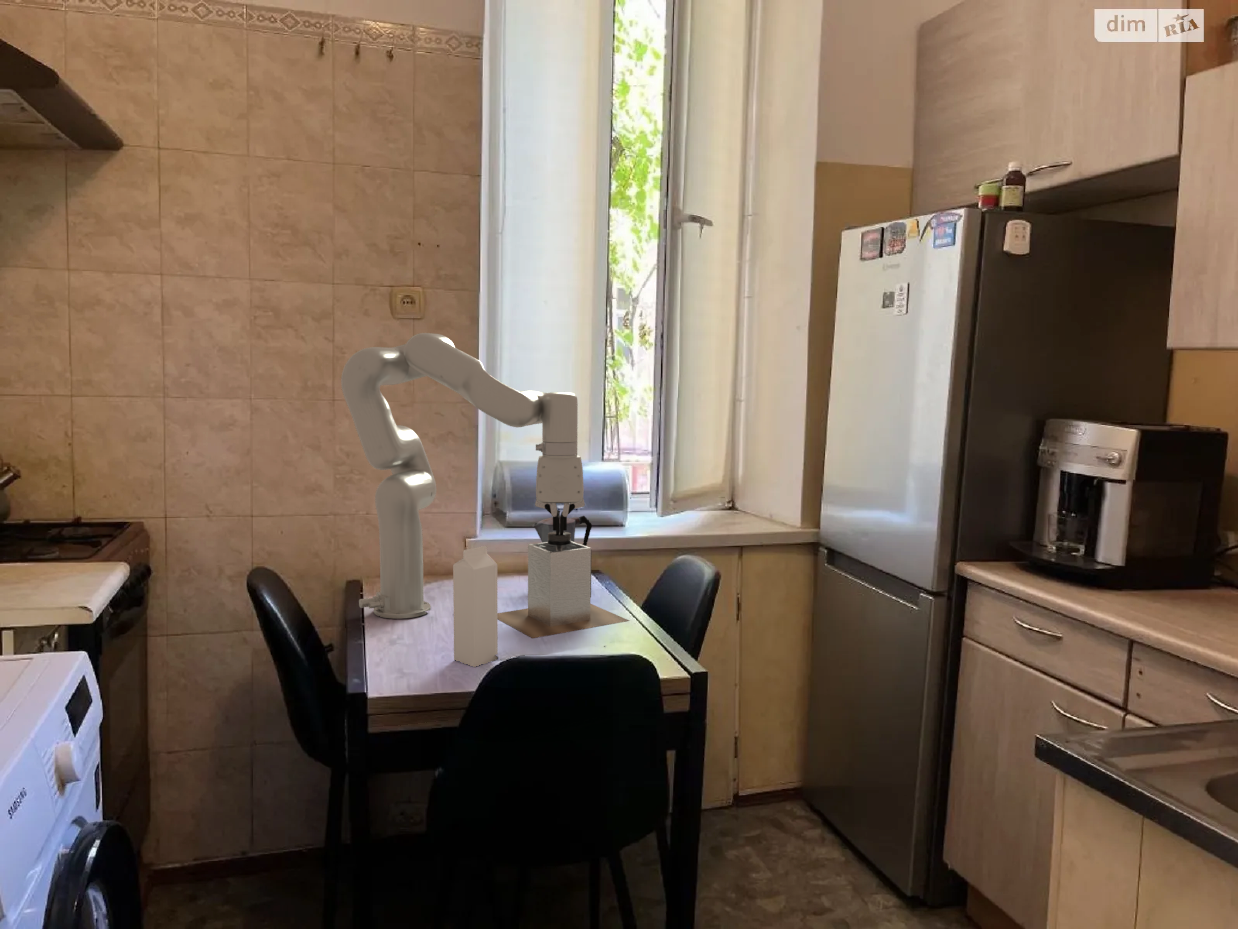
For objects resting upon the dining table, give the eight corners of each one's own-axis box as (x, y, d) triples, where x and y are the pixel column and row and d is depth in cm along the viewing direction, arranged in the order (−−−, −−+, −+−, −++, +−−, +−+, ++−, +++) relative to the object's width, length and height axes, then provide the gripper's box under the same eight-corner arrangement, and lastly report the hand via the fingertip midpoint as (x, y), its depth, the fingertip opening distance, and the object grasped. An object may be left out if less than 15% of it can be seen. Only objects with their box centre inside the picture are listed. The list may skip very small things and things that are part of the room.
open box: (550, 626, 194) (550, 552, 192) (527, 615, 203) (528, 544, 201) (601, 617, 202) (602, 546, 200) (578, 607, 210) (578, 538, 208)
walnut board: (532, 644, 187) (532, 638, 186) (489, 619, 203) (489, 614, 203) (629, 626, 200) (629, 620, 200) (581, 604, 216) (581, 599, 216)
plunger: (552, 597, 195) (552, 538, 194) (534, 589, 202) (534, 532, 200) (584, 592, 199) (584, 535, 198) (565, 585, 206) (565, 529, 205)
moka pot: (526, 586, 233) (526, 508, 230) (582, 580, 239) (583, 505, 237) (539, 595, 224) (539, 514, 222) (597, 589, 231) (598, 511, 228)
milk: (497, 660, 177) (498, 547, 174) (474, 668, 172) (474, 552, 169) (476, 653, 181) (477, 543, 178) (452, 660, 176) (452, 547, 173)
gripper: (523, 451, 193) (524, 537, 195) (594, 451, 193) (594, 537, 196) (526, 447, 200) (526, 530, 202) (594, 448, 201) (594, 530, 203)
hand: (559, 533), depth 199 cm, fingers closed
